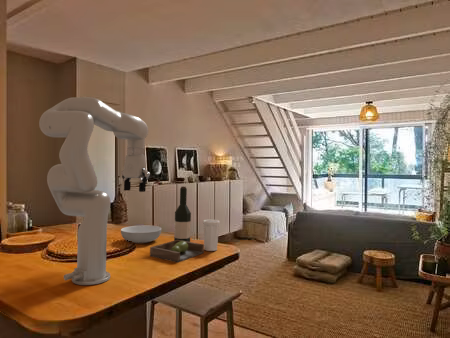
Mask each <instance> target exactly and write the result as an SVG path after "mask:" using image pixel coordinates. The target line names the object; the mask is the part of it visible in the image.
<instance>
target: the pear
mask: <svg viewBox="0 0 450 338" xmlns="http://www.w3.org/2000/svg"><path fill="white" fill-rule="evenodd" d="M187 250H188V244H187V243H186V242H185V241H180V242H178V243H176V244H175V246H173V247H172V248H171V251H176V252H180V253H184V252H186V251H187Z"/></svg>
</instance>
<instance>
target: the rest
mask: <svg viewBox="0 0 450 338" xmlns="http://www.w3.org/2000/svg"><path fill="white" fill-rule="evenodd" d="M180 241H182V240H175V241H174V240H172V241H169V242H168V241H167V242H165V243H161V244H158V245H154V246H150V247H149V256H150V257H152V258H157V259H161V260H165V261H170V262H172V263H181V262H183V261H186V260H188V259H191V258H194V257H196V256H200V255H202V254H204V253H205V250H204V243H197V242H192V241H190V242H187V241H185V242H186V243H187V244H188V250H187V251H186V252H184V253H180V252H176V251H171V248H172V247H173V246H175V244H176V243H178V242H180Z"/></svg>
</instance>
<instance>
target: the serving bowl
mask: <svg viewBox="0 0 450 338" xmlns="http://www.w3.org/2000/svg"><path fill="white" fill-rule="evenodd" d="M120 234H121V237H122V238H123V239H124V240H125V241H127V240H128V241H127V242H129V241H132V242H131V243H133V242H134V244H147V243H150V242H152V241H156V240H157V239H158V238H159V237H160V235H161V234H162V227H160V226H157V225H148V224H147V225H144V224H143V225H141V224H140V225H132V226H131V225H130V226H125V227H123V228H121V229H120Z"/></svg>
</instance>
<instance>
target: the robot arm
mask: <svg viewBox="0 0 450 338" xmlns="http://www.w3.org/2000/svg"><path fill="white" fill-rule="evenodd" d="M38 125H39V129H40V131H41V132H42V134H44V135H45V136H46V137H50V138H65V140H64V142H63V144H62V145H61V148H60V149H59V154H58V155H59V156H58V157H59V160H60V163H58V164H55V165H53V166H52V167H51V168H49V170H48V171H47V175H46V181H47V182H46V183H47V186H48V189H49V191H50V194H51V196H52V197H53V199H54V201H55V203H56V205H57V207H58V209H59V210H60V212H61V213H62V214H64V215H66V216H70V217H71V216H72V217H82V218H83V220H82V221H81V223H80V225H79V226H78V230H77V251H76V252H77V256H76V257H77V258H76V259H77V261H76V263H77V264H76V267H75V268H73V271H72V272H71V273H65V274H64V275H63V280H64V281H68V280H71V282H72V283H73V284H75V285H80V286H91V285H92V286H93V285H98V284H102V283H105V282H107V281H109V280H110V278H111V273H110V272H108V271H107V244H108V243H107V237H108V236H107V235H108V233H107V232H108V229H107V227H108V220H109V213H110V208H111V198H110V196H109V194H108V193H107V192H104V191H102V190H99V189H96V188H97V186H98V177H97V175H96V171H95V168H94V165H93V164H92V161H91V158H90V155H89V150H88V146H89V142H90V140H91V139H90V138H91V136H92V133H93V131H94V128H95V127H94V126H97V127H99V128H100V129H102V130H104V131H107V132H111V133H113V135H114V136H115V137H116V138H117V139H119V140H127V141H126V143H127V144H126V155H125V158H124V164H123V170H121V172H120V174H121V178H122V179H123V180H122V181H123V191H131V183H132V182H131V180H132V179H138V180H139V182H138V183H139V184H138V191H139V192H140V193H143V192H144V193H145V192H146V185H147V183H148V180H149V178H150V175H151V173H150V171H148V170H147V161H146V156H145V152H146V151H145V148H146V147H145V144H146V143H145V142H146V139H147V137H148V135H149V127H148V125H147V123H146V122H145V121H144V120H143V119H141V118H140V117H138V116H135V115H133V114H130V113H125V112H122V111H119V110H115V109H114V108H113V107H111V106H110V105H108V104H107V103H105V102H104V101H102V100H100V99H98V98H96V97H91V96H86V97H85V96H84V97H83V96H82V97H81V96H80V97H69V98H66V99H64V100H62V101H60V102H58V103H57V104H55V105H54V106H52V107H50V108H49V109H47V110H45V111H44V112H43V113H42V114H41V116H40V118H39V123H38Z"/></svg>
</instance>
